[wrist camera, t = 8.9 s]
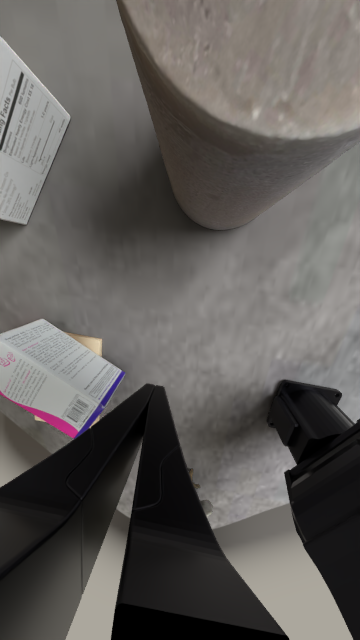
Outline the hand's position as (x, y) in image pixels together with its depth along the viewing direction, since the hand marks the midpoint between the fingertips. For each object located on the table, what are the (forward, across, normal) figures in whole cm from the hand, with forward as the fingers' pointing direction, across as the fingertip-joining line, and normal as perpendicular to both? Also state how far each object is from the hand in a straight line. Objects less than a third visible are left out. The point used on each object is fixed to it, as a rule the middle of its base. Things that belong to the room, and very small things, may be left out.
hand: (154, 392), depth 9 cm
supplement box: (+9, +6, +10) cm, 15 cm away
